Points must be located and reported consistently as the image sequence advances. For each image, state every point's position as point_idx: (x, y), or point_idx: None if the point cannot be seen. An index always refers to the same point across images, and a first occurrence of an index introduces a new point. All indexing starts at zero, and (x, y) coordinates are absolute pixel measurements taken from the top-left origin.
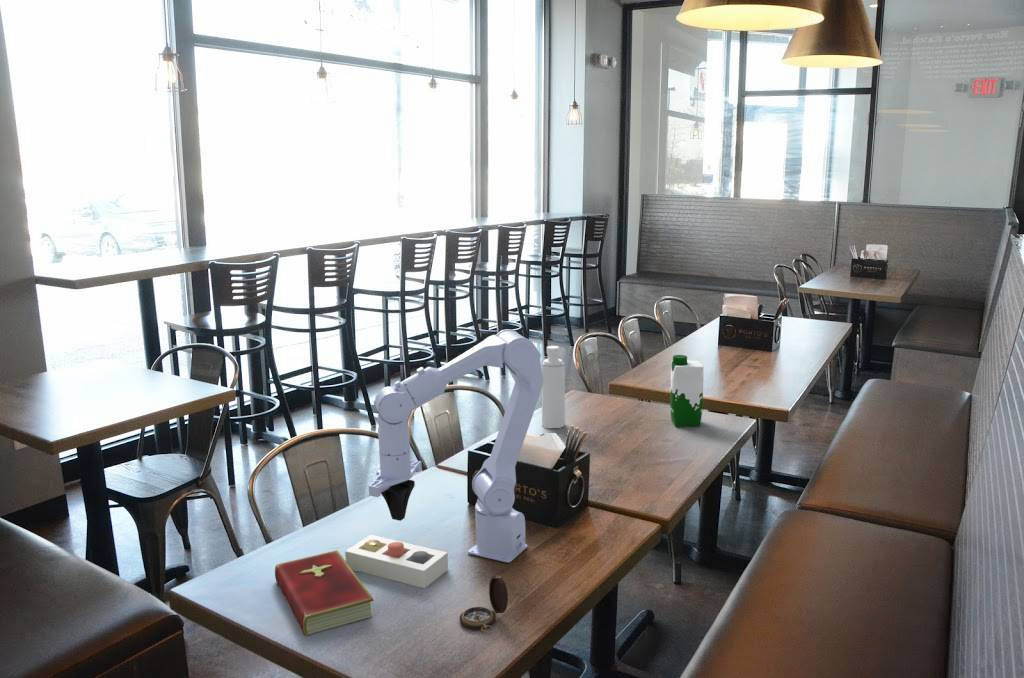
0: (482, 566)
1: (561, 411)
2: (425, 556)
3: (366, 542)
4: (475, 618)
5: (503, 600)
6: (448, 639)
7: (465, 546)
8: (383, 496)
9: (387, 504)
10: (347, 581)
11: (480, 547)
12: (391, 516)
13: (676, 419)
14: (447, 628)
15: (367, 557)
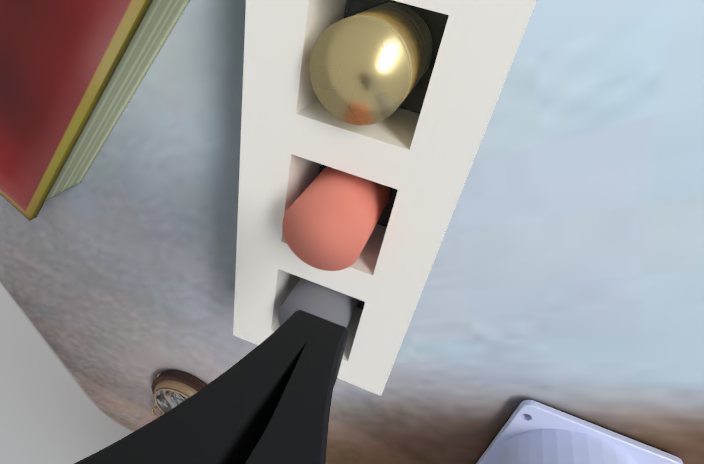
0: (439, 423)
1: None
2: None
3: (359, 25)
4: (184, 399)
5: None
6: (115, 351)
7: (602, 391)
8: (87, 461)
9: (200, 392)
10: (40, 88)
11: (515, 455)
12: (285, 321)
13: None
14: (143, 348)
15: (245, 89)
